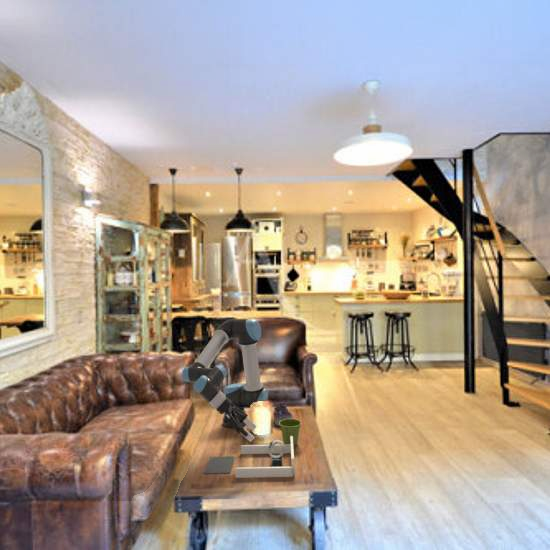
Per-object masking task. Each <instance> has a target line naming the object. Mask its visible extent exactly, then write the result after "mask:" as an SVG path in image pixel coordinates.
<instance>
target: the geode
mask: <svg viewBox="0 0 550 550" xmlns="http://www.w3.org/2000/svg"><path fill="white" fill-rule="evenodd" d="M273 410H274V412H273V415H272V416H273V418H274V419H273V420H274V422H275V426H277V427H278V428H281V427H280V424H279V422H280V421H281V420H284V419H293V414H292V413H291V412H290V411H289V409H288V408H287V403H286V402H284V403H281V402H280V404H278V405H275V407H273Z"/></svg>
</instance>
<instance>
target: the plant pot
mask: <svg viewBox="0 0 550 550" xmlns="http://www.w3.org/2000/svg"><path fill="white" fill-rule="evenodd" d="M279 424H280V427H279V428H280V430H281V436H282V442H283V443H284V444H291V442H290V436H293V447H295V446H297V445H298V443H299V437H300V436H299V434H300V428H301V425H302V421H301V420H299V419H296V418H292V419H284V420H281V421H280V422H279Z"/></svg>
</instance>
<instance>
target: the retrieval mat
mask: <svg viewBox="0 0 550 550" xmlns="http://www.w3.org/2000/svg"><path fill="white" fill-rule="evenodd" d="M234 460H235V455H234V456H232V455H231V456H209V459H208V461H207V463H206V466H205V468H204V471H203V474H204V475H209V474H210V475H211V474H213V475H214V474H217V475H218V474H231V472H232V468H233V464H234Z"/></svg>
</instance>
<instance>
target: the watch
mask: <svg viewBox="0 0 550 550" xmlns="http://www.w3.org/2000/svg"><path fill="white" fill-rule="evenodd" d="M276 443H280V444H283V450H282V452H281V453H279V454H271V453H270V452H271V451H272V450H273V448H274V446H275V444H276ZM268 445H269V447H268V451H269V456H270V457H271V462H272V467H283V459H282V458H283V455H284V454H285V453H284V451H285V446H284V442H283V440H280V439H273V440H271V441H270V443H269V444H268Z"/></svg>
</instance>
